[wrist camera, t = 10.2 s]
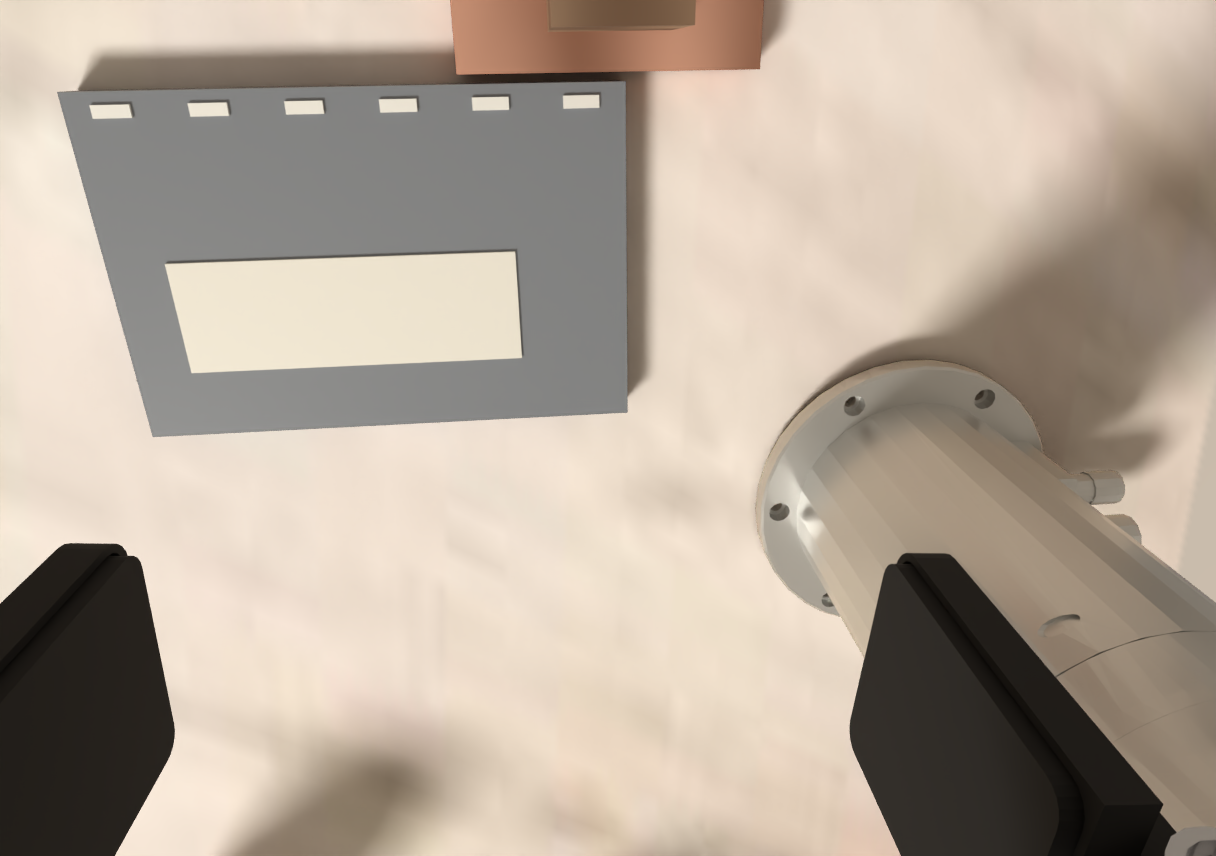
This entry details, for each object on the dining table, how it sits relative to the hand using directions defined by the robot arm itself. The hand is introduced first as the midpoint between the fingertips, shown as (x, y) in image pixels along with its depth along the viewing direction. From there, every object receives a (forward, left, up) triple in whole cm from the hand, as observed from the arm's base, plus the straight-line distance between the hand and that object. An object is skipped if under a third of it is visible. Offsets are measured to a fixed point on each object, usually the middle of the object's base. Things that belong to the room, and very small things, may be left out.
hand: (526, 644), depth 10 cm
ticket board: (+5, 0, -22) cm, 22 cm away
